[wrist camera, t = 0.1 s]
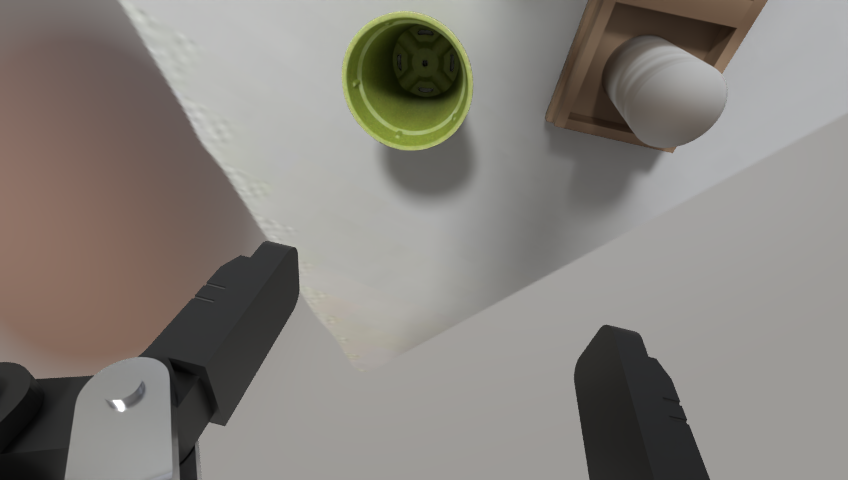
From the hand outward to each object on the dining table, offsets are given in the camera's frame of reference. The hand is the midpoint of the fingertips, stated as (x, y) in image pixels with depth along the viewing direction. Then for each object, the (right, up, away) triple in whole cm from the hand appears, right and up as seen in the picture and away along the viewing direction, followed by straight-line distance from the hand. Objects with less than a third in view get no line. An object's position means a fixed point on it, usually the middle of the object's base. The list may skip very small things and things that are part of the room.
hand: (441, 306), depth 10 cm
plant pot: (0, +18, +24) cm, 30 cm away
